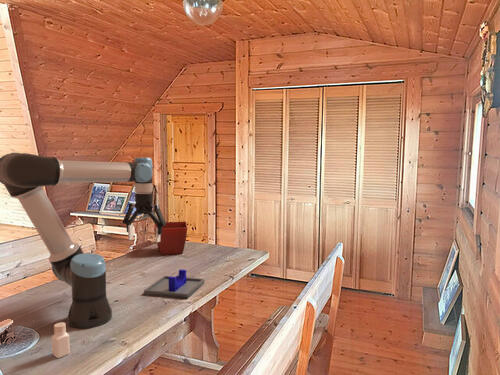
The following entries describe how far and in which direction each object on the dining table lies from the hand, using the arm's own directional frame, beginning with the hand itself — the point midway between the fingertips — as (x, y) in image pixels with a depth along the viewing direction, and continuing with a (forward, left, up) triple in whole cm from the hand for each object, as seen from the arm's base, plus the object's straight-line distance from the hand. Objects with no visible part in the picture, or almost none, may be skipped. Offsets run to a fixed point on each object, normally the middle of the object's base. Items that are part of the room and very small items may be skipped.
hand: (144, 240), depth 175 cm
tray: (+3, -13, -22) cm, 26 cm away
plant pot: (+61, +16, -22) cm, 67 cm away
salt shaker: (-58, -3, -22) cm, 62 cm away
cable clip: (+4, -13, -21) cm, 25 cm away
